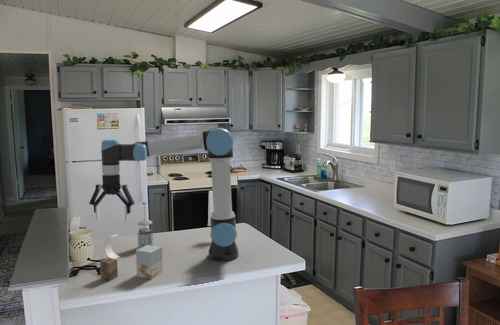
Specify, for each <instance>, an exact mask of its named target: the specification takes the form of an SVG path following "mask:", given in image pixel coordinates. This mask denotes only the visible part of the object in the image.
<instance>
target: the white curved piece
mask: <svg viewBox="0 0 500 325" xmlns="http://www.w3.org/2000/svg"><path fill="white" fill-rule="evenodd" d="M119 236H120V235H119V234H118V233H117V234H113V235H110V236H109V237H107V238H105V240H104V241H103V244H102V249H103V253H104V255H105V257H104V260H105V259H107V258H112V259H117V260H118V259H119V258H121V256H119V255H118V254H116V253H115V252H114V250H113V249H112V241H113V239H115V238H117V237H119Z"/></svg>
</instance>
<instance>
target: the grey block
mask: <svg viewBox="0 0 500 325" xmlns="http://www.w3.org/2000/svg"><path fill="white" fill-rule="evenodd" d="M135 258H136V262H135V263H136V265H137V264H142V265H148V266H153V265H154V264H156V263H158V262H160V261H161V260H162V261H163V247H162V246H157V245H154V246H151V245H146V246H144V247H142V248H140V249H138V250H137V249H136V250H135Z"/></svg>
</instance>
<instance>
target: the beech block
mask: <svg viewBox="0 0 500 325" xmlns="http://www.w3.org/2000/svg"><path fill="white" fill-rule="evenodd" d="M163 270H164V269H163V259H162V260H161V261H160V262H158V263H156V264H154V265H153V266H148V265H142V264H137V263H136V277H138V278H142V279H148V280H149V279H150V280H153V279H155V278H157V277H158V276H160V275H161V274H163V272H164V271H163Z"/></svg>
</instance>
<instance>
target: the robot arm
mask: <svg viewBox="0 0 500 325" xmlns="http://www.w3.org/2000/svg"><path fill="white" fill-rule="evenodd" d="M233 145H234V137H233V135H232V133H231V132H230V131H229V130H228V129H226V128H224V127H215V128H212V129H209V130H204V131H201V132H200V133H196V134H190V135H183V136H174V137H167V138H160V139H154V140H146V141H136V142H133V143H127V144H126V143H125V144H123V143H122V144H121V143H120V141H119V140H118V139H103V140H101V146H100V148H101V149H100V151H101V173H102V176H101V177H102V179H101V180H102V181H101V182H102V184H100V183H97V184H95V190H94V192H93V194H92V196H91V198H90V200H89V202H88V204H89V206H90V205H91V206H93V213H95V220H96V221H99V220H101V205H100V203H101V202H102V200H103V199H104V198H105V197H106V195H108V196H110V195H112V196H115V195H116V196H117V197H118V198H119V199H120V201H121V202H123V204H124V205H125V206H124V222H128V221H130V214H131V212H132V211H131V207H132V206H133V205H135V201H134V199H133V197H132V195H131V193H130V190H129V189H128V185H127V184H121V174H120V173H121V171H120V168H121V166H120V162H125V161H126V162H128V161H129V162H140V161H142V162H143V161H146V160H147V158H148V157H149V158H150V157H155V156H163V155H168V154H170V155H171V154H178V153H185V152H193V151H201V150H203V151H204V152H206V153H207V159H208V160H209V161H210V165H211V168H210V169H211V181H212V182H211V188H212V209H213V210H212V212H211V215H210V238H211V242H210V245H209V249H208V253H207V254H208V256H207V257H208V258H209V259H211V260H213V261H222V262H223V261H225V262H226V261H230V260H235V259H237V258H238V257H239V248H238V246H237V243H236V239H237V235H238V232H237V224H236V223H237V221H236V214H235V211H233V203H232V202H233V201H232V180H231V178H232V176H231V175H232V174H231V160H233V158H234V146H233ZM120 189H121V190H122V191H121V190H120ZM101 190H103V191H102V192H101ZM100 192H101V194H100V195H99V193H100ZM123 193H124V194H123ZM98 196H99V197H98Z"/></svg>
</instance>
